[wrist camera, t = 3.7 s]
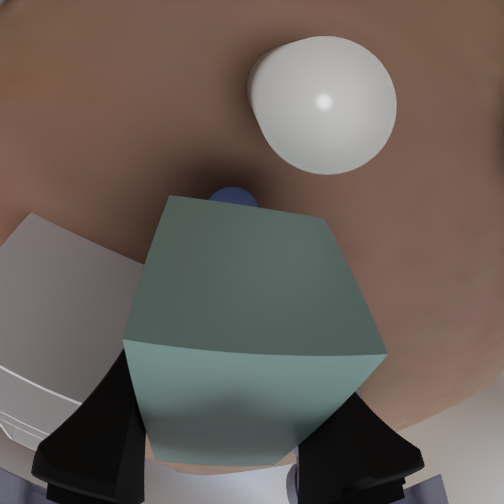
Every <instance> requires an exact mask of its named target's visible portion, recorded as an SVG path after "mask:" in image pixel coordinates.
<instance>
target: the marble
mask: <svg viewBox="0 0 504 504" xmlns="http://www.w3.org/2000/svg"><path fill="white" fill-rule="evenodd" d="M208 200H211V201H218V202H225V203H232V204H239V205H246V206H252V207H259V205H258V203H257V201H256V199H255V198H254V196H253V195H252V194H251V193H250V192H248V191H247V190H245V189H243V188H240V187H234V186H229V187H224V188H221V189H219V190H217V191H216V192H215V193H213V194H212V195H211V196H210V198H209V199H208Z"/></svg>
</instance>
